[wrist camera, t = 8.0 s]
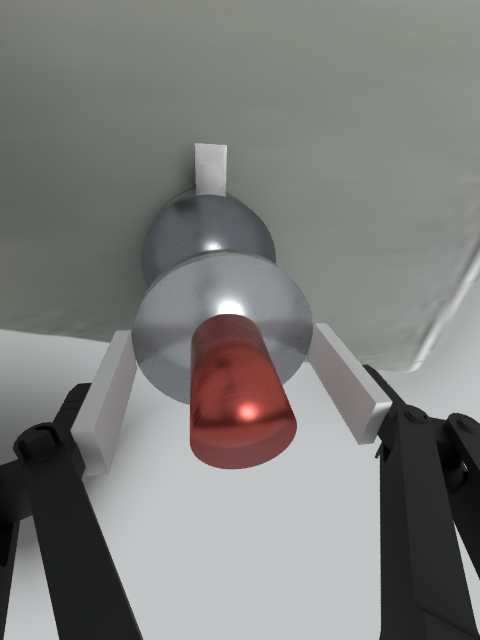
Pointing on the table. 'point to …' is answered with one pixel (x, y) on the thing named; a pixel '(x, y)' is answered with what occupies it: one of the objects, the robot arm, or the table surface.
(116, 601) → the robot arm
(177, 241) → the pot
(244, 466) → the lid
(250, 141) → the table surface
